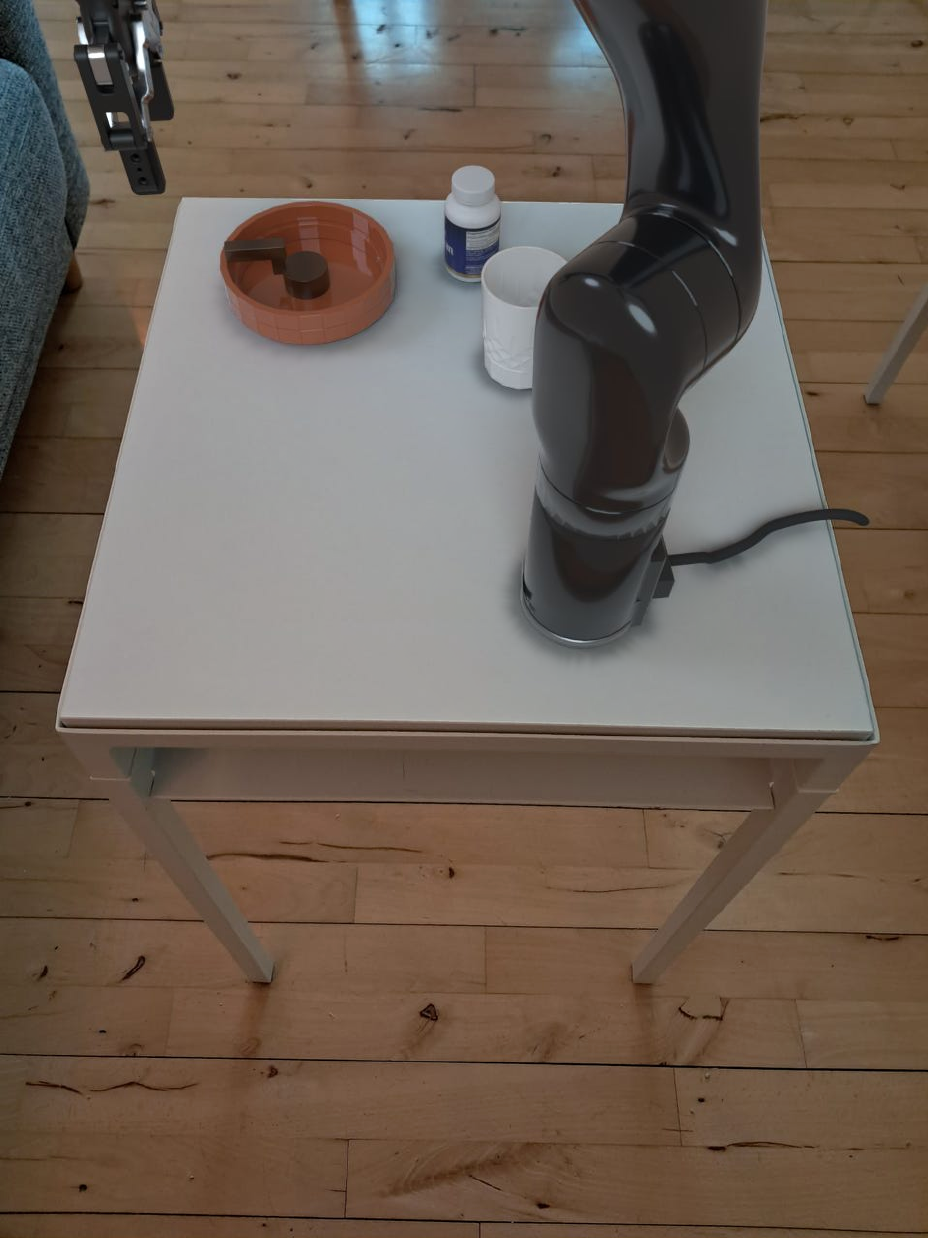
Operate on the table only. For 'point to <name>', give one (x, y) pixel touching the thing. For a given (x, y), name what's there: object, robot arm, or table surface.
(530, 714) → the table surface
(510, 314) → the white cup
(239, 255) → the brown cylinder with tab
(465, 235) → the pill bottle
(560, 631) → the robot arm
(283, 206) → the bowl
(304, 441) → the table surface
